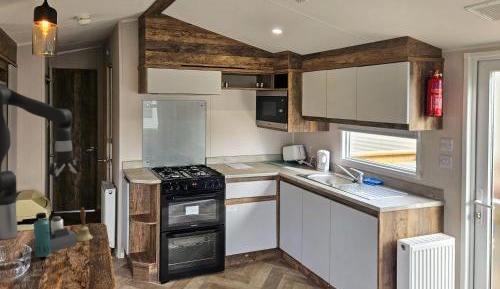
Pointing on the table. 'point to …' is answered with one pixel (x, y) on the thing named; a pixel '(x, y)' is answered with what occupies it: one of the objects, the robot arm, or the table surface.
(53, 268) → the table surface
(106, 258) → the table surface
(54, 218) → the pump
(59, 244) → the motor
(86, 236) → the hand bell
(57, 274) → the table surface
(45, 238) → the beverage bottle
